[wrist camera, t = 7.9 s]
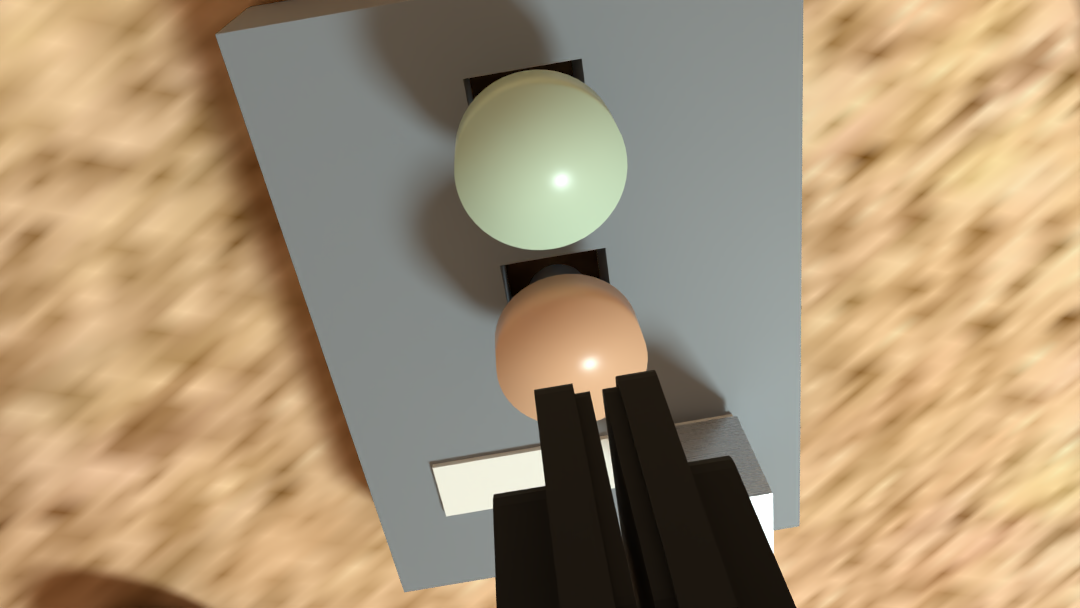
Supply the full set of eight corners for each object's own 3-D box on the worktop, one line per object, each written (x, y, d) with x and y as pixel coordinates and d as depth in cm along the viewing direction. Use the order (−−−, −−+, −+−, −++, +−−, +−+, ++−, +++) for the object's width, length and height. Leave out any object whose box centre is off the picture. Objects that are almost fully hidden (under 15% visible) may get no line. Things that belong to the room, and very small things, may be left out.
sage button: (442, 57, 24) (437, 102, 20) (593, 31, 24) (618, 70, 20) (471, 198, 26) (472, 262, 22) (609, 174, 26) (635, 234, 22)
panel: (249, 7, 26) (213, 35, 22) (758, -82, 26) (806, -68, 22) (410, 520, 37) (404, 596, 33) (768, 460, 37) (801, 529, 33)
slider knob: (653, 429, 30) (678, 509, 26) (736, 415, 30) (772, 493, 26) (660, 492, 31) (684, 575, 28) (739, 478, 31) (773, 560, 28)
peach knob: (481, 243, 27) (483, 313, 23) (615, 220, 27) (640, 286, 23) (504, 355, 29) (510, 436, 25) (628, 334, 29) (653, 412, 25)
